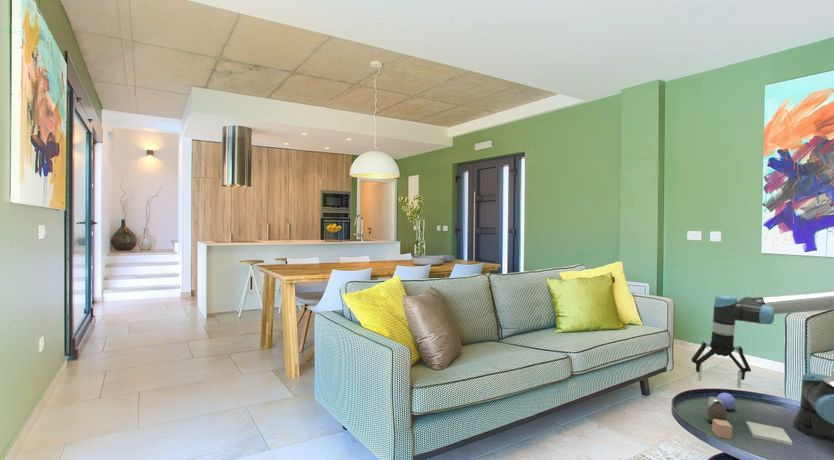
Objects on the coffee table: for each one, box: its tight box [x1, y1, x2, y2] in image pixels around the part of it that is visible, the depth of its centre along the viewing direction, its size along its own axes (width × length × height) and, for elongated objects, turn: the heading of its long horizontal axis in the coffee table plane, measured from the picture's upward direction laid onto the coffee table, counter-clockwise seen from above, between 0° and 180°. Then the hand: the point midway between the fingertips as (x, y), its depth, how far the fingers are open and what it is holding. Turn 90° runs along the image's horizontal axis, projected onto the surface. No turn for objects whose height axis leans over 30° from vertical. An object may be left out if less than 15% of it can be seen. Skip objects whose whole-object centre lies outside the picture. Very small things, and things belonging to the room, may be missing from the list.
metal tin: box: [707, 396, 723, 409], centre depth 193 cm, size 5×5×6 cm
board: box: [745, 420, 793, 446], centre depth 175 cm, size 12×12×1 cm
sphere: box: [716, 392, 737, 410], centre depth 197 cm, size 7×7×7 cm
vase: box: [706, 401, 728, 423], centre depth 183 cm, size 7×7×9 cm
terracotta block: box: [711, 419, 733, 440], centre depth 174 cm, size 5×5×5 cm
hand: (718, 383), depth 183 cm, fingers open, 13 cm apart
